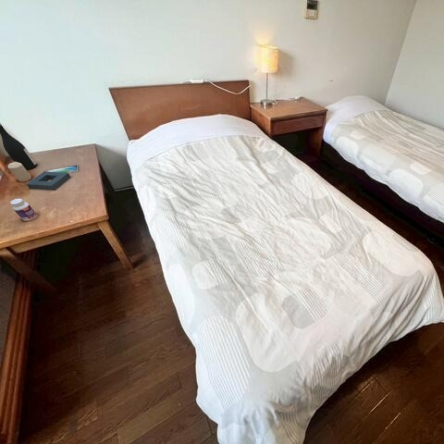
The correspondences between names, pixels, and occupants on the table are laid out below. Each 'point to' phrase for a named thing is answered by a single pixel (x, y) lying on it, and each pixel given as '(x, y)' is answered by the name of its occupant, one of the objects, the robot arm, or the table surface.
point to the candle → (19, 171)
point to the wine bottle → (16, 150)
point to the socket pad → (42, 179)
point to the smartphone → (65, 169)
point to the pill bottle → (23, 209)
